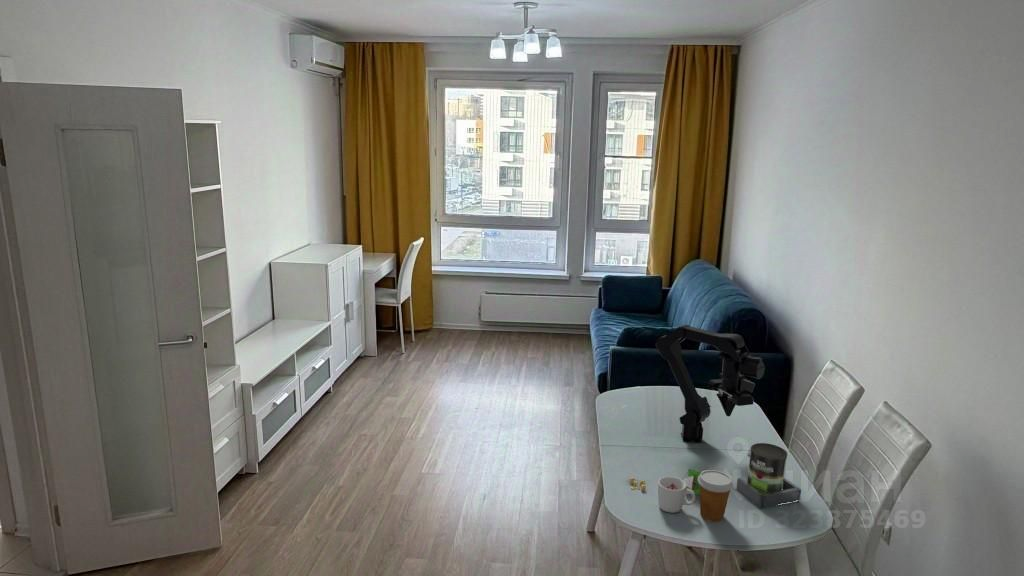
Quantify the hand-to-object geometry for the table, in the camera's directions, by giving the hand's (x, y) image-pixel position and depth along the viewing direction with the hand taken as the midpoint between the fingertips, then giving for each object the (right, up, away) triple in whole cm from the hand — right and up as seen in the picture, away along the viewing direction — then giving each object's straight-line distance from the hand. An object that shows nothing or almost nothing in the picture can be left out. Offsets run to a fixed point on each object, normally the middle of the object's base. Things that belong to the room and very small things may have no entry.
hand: (728, 416), depth 226 cm
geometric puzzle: (-18, -19, -23) cm, 35 cm away
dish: (+10, -14, 0) cm, 17 cm away
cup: (-26, -21, -33) cm, 47 cm away
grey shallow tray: (+4, -19, -25) cm, 32 cm away
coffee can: (+3, -19, -23) cm, 30 cm away
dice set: (-35, -18, -21) cm, 45 cm away
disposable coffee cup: (-17, -22, -36) cm, 45 cm away
